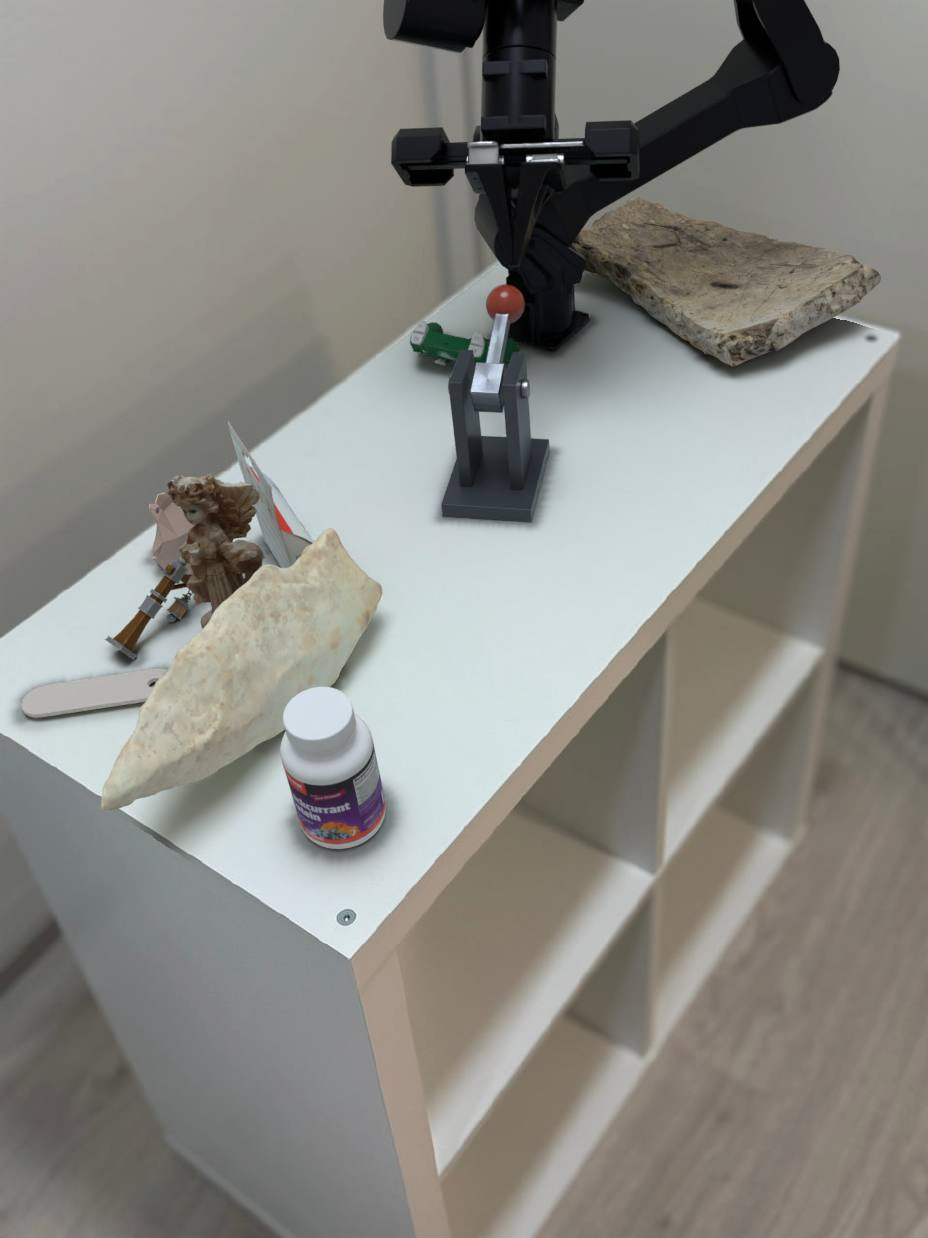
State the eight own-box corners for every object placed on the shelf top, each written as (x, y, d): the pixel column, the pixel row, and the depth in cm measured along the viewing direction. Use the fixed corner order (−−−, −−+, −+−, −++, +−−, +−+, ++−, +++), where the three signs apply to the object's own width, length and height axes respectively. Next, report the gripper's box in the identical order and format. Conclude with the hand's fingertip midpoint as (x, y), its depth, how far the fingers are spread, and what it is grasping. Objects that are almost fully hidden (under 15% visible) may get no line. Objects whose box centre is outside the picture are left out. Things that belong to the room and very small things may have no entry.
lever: (491, 302, 99) (486, 275, 96) (529, 303, 98) (525, 276, 96) (469, 413, 94) (463, 389, 92) (508, 415, 94) (503, 391, 91)
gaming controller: (423, 364, 116) (394, 349, 110) (434, 324, 115) (405, 307, 110) (512, 384, 112) (487, 369, 107) (524, 342, 112) (499, 326, 106)
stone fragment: (767, 397, 105) (904, 301, 114) (774, 336, 101) (916, 240, 110) (529, 284, 120) (666, 207, 129) (527, 227, 116) (668, 151, 125)
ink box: (291, 526, 97) (262, 404, 89) (336, 597, 91) (309, 472, 83) (256, 539, 97) (224, 417, 89) (299, 611, 90) (268, 486, 82)
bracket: (465, 446, 103) (453, 332, 96) (549, 450, 102) (544, 335, 94) (442, 516, 97) (427, 400, 90) (531, 522, 96) (524, 404, 88)
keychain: (174, 700, 85) (177, 671, 88) (172, 694, 85) (175, 665, 87) (20, 723, 85) (27, 694, 87) (17, 717, 85) (25, 688, 87)
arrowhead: (268, 510, 87) (54, 757, 70) (342, 499, 84) (137, 756, 67) (328, 624, 92) (142, 881, 75) (400, 618, 89) (224, 885, 72)
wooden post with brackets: (219, 585, 92) (187, 556, 88) (153, 673, 91) (118, 649, 87) (203, 575, 93) (171, 546, 89) (138, 663, 92) (102, 638, 88)
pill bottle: (284, 838, 76) (252, 735, 70) (324, 772, 80) (297, 668, 73) (364, 862, 75) (339, 759, 68) (401, 793, 78) (380, 688, 71)
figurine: (178, 669, 87) (119, 501, 77) (219, 611, 91) (167, 444, 81) (273, 690, 85) (224, 520, 75) (310, 630, 89) (269, 461, 78)
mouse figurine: (220, 599, 92) (198, 530, 88) (140, 566, 96) (116, 498, 91) (263, 558, 95) (245, 488, 91) (185, 527, 99) (164, 459, 94)
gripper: (643, 98, 103) (638, 289, 103) (421, 107, 106) (416, 292, 106) (640, 39, 92) (634, 253, 92) (391, 50, 95) (387, 258, 95)
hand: (513, 266), depth 97 cm, fingers closed
